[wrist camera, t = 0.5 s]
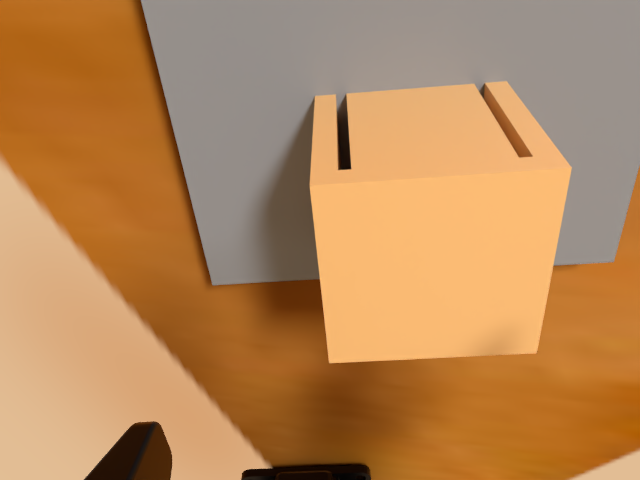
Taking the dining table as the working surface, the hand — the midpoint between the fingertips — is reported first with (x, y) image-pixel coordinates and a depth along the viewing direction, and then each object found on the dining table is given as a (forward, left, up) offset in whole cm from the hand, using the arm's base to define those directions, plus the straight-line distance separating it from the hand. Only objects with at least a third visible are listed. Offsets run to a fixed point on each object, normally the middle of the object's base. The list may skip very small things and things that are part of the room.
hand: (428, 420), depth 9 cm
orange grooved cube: (-1, -1, -10) cm, 10 cm away
